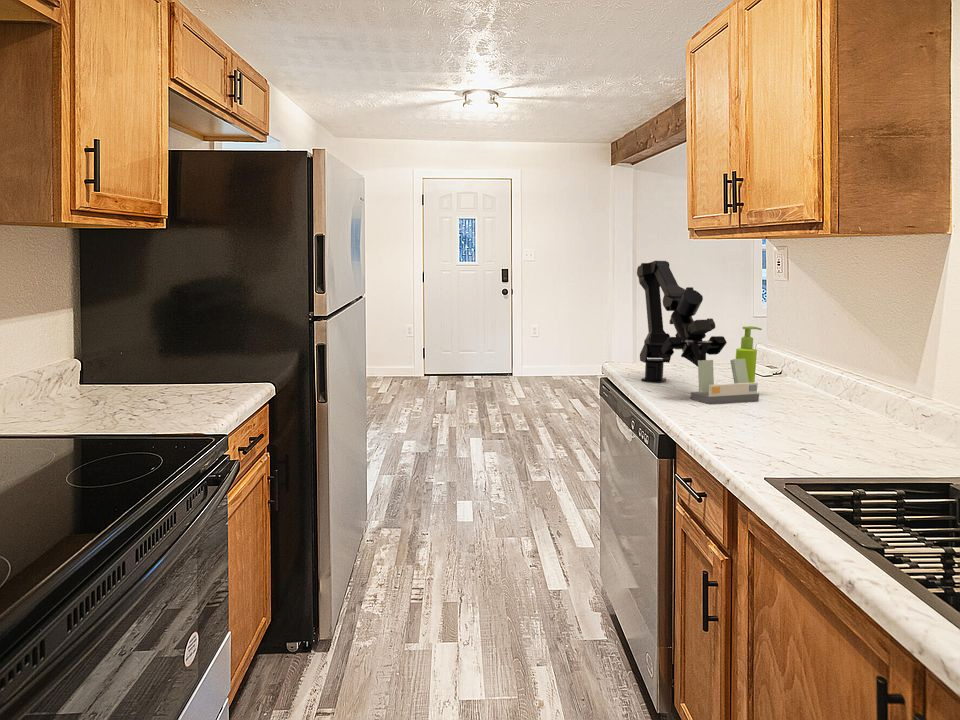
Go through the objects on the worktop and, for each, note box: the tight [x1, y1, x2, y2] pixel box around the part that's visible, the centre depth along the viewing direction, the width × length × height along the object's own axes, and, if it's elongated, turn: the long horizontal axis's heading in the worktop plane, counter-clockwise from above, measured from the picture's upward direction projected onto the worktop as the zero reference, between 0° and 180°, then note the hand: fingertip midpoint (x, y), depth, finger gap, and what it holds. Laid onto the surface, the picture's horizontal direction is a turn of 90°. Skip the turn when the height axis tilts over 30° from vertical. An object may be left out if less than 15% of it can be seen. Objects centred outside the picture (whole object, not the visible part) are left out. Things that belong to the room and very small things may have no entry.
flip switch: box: [697, 359, 715, 392], centre depth 230 cm, size 2×4×9 cm, turn 113°
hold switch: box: [730, 358, 749, 384], centre depth 236 cm, size 2×4×9 cm, turn 113°
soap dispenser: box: [735, 326, 763, 383], centre depth 245 cm, size 6×7×20 cm
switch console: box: [690, 381, 760, 405], centre depth 233 cm, size 8×18×5 cm, turn 113°
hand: (704, 369), depth 231 cm, fingers closed, pressing on flip switch
